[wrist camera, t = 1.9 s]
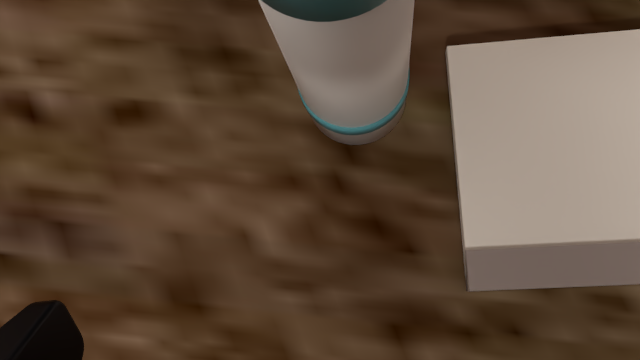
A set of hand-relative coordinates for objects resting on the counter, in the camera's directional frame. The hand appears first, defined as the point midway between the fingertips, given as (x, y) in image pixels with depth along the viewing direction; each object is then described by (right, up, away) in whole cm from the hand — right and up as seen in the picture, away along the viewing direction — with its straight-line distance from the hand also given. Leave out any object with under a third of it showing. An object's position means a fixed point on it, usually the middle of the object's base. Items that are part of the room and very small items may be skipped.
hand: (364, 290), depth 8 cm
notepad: (+9, +2, +12) cm, 15 cm away
